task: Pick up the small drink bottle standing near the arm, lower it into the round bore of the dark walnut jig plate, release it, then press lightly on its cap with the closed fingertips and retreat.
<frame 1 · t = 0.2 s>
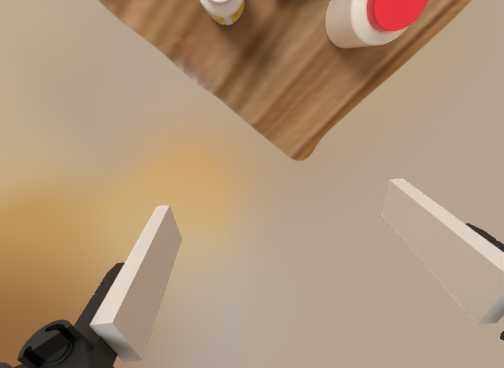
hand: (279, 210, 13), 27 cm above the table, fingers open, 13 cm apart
supplement bottle: (224, 1, 29), on the table
pill bottle: (351, 16, 31), on the table
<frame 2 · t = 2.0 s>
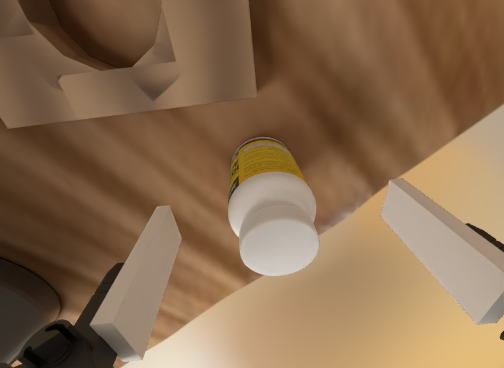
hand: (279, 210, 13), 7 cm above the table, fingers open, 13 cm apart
supplement bottle: (260, 164, 19), on the table
jig: (111, 1, 13), on the table
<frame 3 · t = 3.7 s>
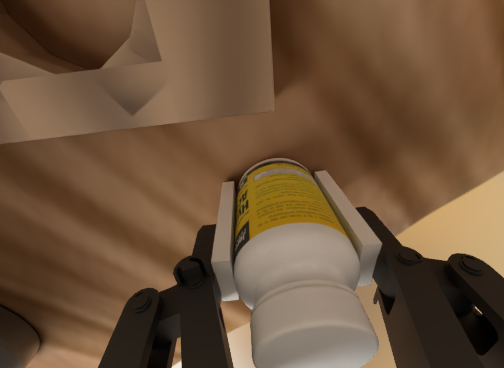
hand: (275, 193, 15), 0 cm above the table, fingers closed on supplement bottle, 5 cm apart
supplement bottle: (274, 189, 15), on the table, touching gripper
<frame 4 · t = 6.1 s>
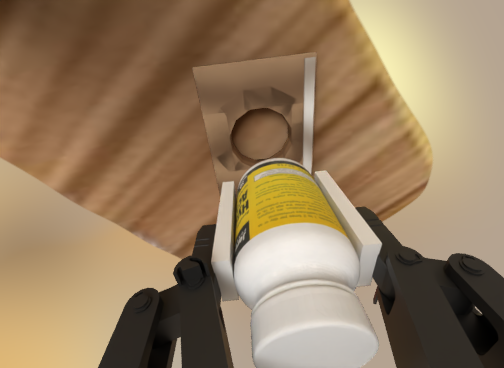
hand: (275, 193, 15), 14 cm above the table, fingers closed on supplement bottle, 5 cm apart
supplement bottle: (274, 189, 15), point 13 cm above the table, touching gripper
jig: (259, 133, 27), on the table
when the fingers open (3 cm above the table, at t = 8.6 s): supplement bottle drops 3 cm, resting in jig.
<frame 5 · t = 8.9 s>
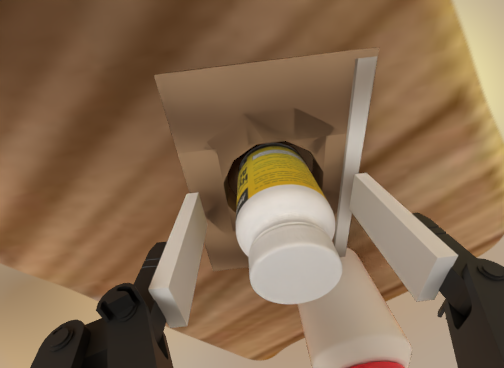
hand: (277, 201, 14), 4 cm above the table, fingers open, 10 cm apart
supplement bottle: (270, 171, 18), resting in jig
pill bottle: (324, 268, 24), on the table
jig: (269, 173, 18), on the table
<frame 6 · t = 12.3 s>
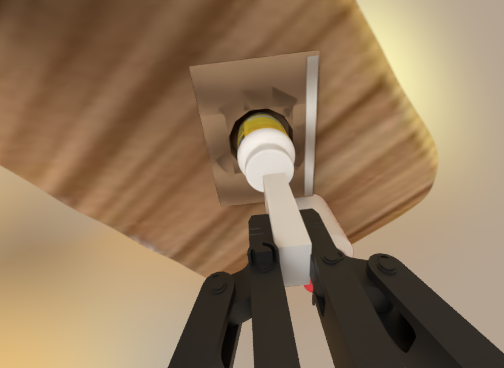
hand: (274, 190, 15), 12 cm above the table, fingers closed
supplement bottle: (260, 134, 26), resting in jig
pill bottle: (302, 213, 32), on the table
jig: (259, 135, 26), on the table
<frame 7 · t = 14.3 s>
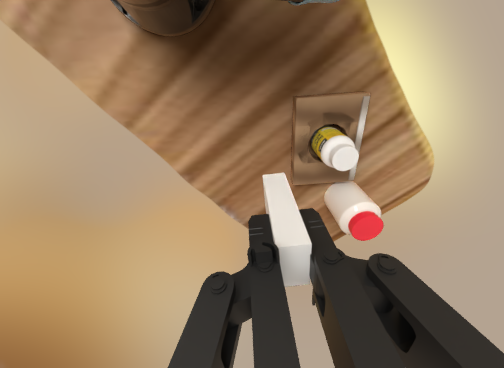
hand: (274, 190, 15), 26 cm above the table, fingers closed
supplement bottle: (323, 139, 41), resting in jig
pill bottle: (341, 194, 47), on the table
jig: (323, 139, 40), on the table
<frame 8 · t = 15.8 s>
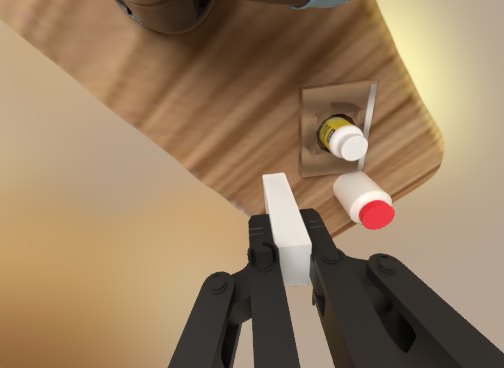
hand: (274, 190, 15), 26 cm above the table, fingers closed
supplement bottle: (330, 129, 40), resting in jig
pill bottle: (350, 185, 47), on the table
jig: (330, 130, 40), on the table
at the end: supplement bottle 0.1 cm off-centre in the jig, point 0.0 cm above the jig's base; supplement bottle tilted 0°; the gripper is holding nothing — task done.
